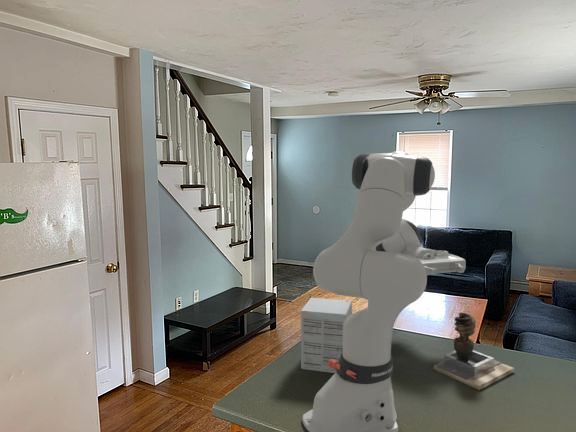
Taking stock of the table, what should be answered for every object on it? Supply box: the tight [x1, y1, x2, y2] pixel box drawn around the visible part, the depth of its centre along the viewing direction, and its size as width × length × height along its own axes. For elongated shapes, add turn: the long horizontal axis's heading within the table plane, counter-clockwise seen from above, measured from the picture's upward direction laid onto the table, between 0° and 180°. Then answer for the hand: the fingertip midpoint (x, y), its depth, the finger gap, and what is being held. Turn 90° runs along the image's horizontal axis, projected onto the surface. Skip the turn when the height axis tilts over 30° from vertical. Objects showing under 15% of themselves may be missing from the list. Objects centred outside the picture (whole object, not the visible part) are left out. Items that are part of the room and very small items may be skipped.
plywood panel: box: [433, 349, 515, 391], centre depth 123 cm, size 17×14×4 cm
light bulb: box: [453, 312, 477, 362], centre depth 123 cm, size 6×6×15 cm
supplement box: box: [300, 297, 353, 374], centre depth 128 cm, size 13×13×18 cm
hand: (448, 271), depth 132 cm, fingers open, 8 cm apart
